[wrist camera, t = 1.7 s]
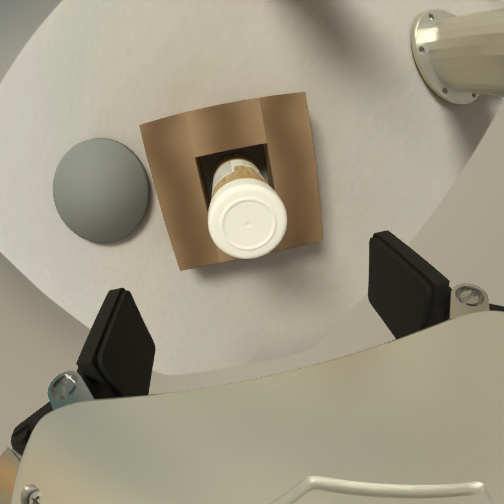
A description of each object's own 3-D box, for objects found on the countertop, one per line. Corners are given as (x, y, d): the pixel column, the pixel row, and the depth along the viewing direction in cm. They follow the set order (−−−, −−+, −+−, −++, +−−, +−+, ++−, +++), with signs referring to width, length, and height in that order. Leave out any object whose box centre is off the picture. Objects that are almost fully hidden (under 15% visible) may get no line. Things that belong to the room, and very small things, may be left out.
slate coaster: (134, 124, 25) (131, 124, 24) (161, 227, 30) (160, 229, 29) (45, 158, 25) (41, 159, 24) (75, 249, 30) (73, 252, 29)
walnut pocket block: (295, 94, 26) (305, 92, 22) (313, 227, 32) (323, 241, 29) (148, 123, 25) (139, 125, 22) (183, 254, 32) (180, 270, 29)
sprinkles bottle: (268, 175, 29) (305, 223, 17) (235, 207, 30) (248, 275, 18) (235, 143, 27) (248, 167, 15) (202, 177, 28) (190, 227, 16)
